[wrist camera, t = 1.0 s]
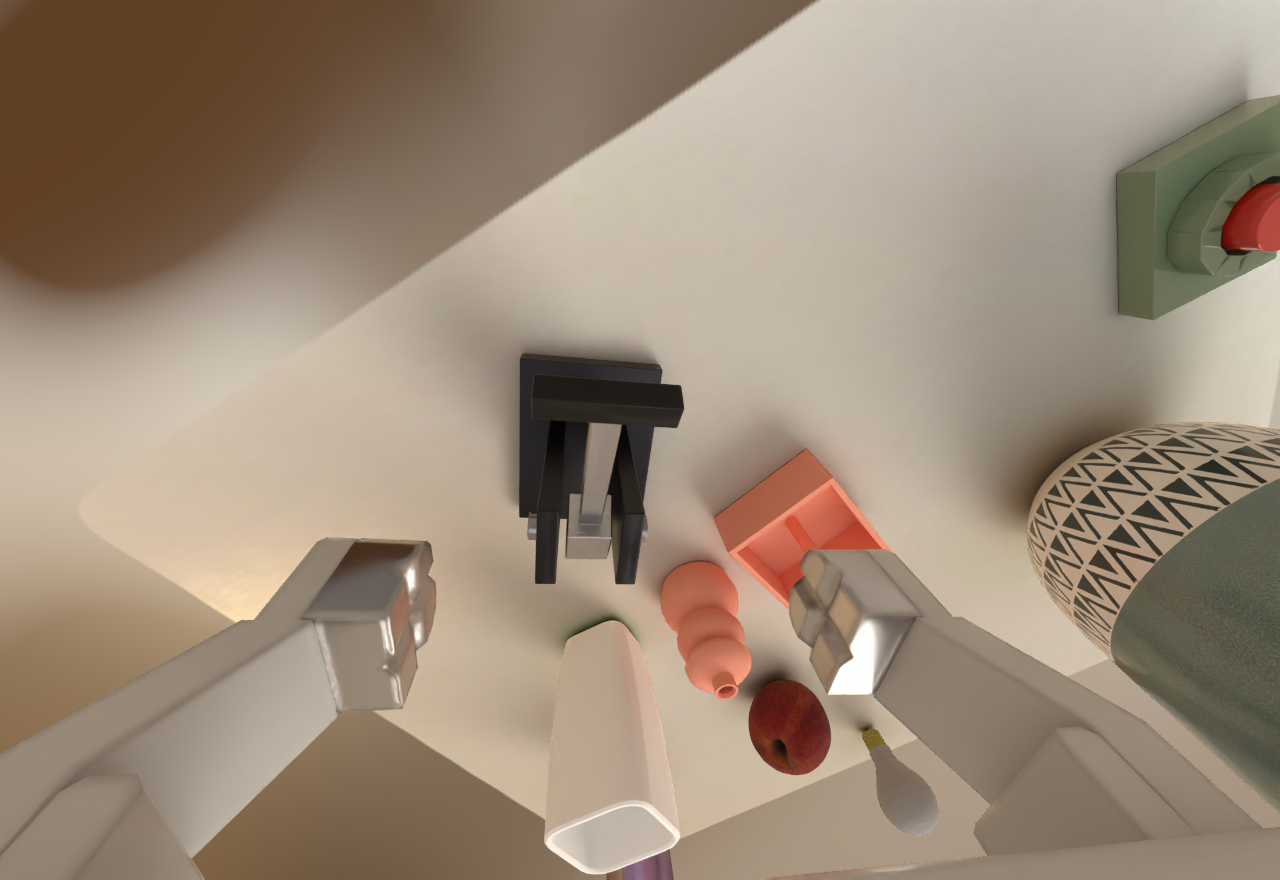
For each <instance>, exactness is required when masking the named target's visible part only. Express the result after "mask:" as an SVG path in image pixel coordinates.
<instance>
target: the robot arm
mask: <svg viewBox="0 0 1280 880" xmlns="http://www.w3.org/2000/svg"><path fill="white" fill-rule="evenodd" d="M432 563H433V556H432V548H431V544H430V543H428V542H427V541H412V540H389V539H365V538H361V539H354V538H324V539H322V540H320V541H318V542H317V543H316V544H315V545H314V546H313V548H312V549H311V550H310V551H309V552H308V554H307V555H306V556H305V557H304V559H303V560H302V561H301V562H300V564H299V565H298V566H297V567H296V569H295V570H294V571H293V572H292V573H291V575H290V576H289V577H288V578H287V580H286V581H285V582H284V583H283V585H282V586H281V587H280V588H279V590H278V591H277V592H276V593H275V595H274V596H273V597H272V598H271V599H270V601H269V602H268V603H267V604H266V606H265V607H264V608H263V609H262V611H261V612H260V613H259V614H258V616H257V617H256V618H255V619H254V620H241V621H239V622H237V623H236V624H234V625H232V626H230V627H228V628H226V629H225V630H223V631H221V632H219V633H218V634H216V635H214V636H212V637H210V638H208V639H207V640H205V641H203V642H201V643H199V644H198V645H196V646H194V647H192V648H190V649H189V650H187V651H185V652H183V653H181V654H179V655H178V656H176V657H174V658H172V659H170V660H169V661H167V662H165V663H163V664H161V665H159V666H158V667H156V668H154V669H152V670H150V671H149V672H147V673H145V674H143V675H141V676H140V677H138V678H136V679H134V680H132V681H130V682H129V683H127V684H125V685H123V686H121V687H120V688H118V689H116V690H114V691H112V692H111V693H109V694H107V695H105V696H103V697H102V698H100V699H98V700H96V701H94V702H92V703H91V704H89V705H87V706H86V707H83V708H82V709H80V710H78V711H76V712H74V713H73V714H71V715H69V716H67V717H65V718H64V719H62V720H60V721H58V722H56V723H55V724H53V725H51V726H49V727H47V728H45V729H44V730H42V731H40V732H38V733H36V734H35V735H33V736H31V737H29V738H27V739H25V740H24V741H22V742H20V743H18V744H16V745H15V746H13V747H11V748H9V749H7V750H6V751H4V752H2V753H0V880H205V879H204V877H203V876H202V874H201V872H200V871H199V869H198V868H197V866H196V865H195V863H194V862H193V860H192V859H191V858H193V857H194V855H196V854H197V853H198V852H199V851H200V850H201V849H202V848H203V847H204V846H205V845H206V844H207V843H208V842H209V841H210V840H211V839H212V838H213V837H214V836H215V835H216V834H217V833H218V832H219V831H220V830H221V829H222V828H223V827H224V826H225V825H226V824H228V822H230V821H231V820H232V819H233V818H234V817H235V816H236V815H237V814H238V813H239V812H240V811H241V810H242V809H243V808H244V807H245V806H246V805H247V804H248V803H249V802H250V801H251V800H252V799H253V798H254V797H255V796H256V795H257V794H258V793H259V792H260V791H262V790H263V789H264V787H266V786H267V785H268V784H269V783H270V782H271V781H272V780H273V779H274V778H275V777H276V776H277V775H278V774H279V773H280V772H281V771H282V770H283V769H284V768H285V767H286V766H287V765H288V764H289V763H290V762H291V761H292V760H293V759H294V758H295V757H297V755H299V754H300V753H301V752H302V751H303V750H304V749H305V748H306V747H307V746H308V745H309V744H310V743H311V742H312V741H313V740H314V739H315V738H316V737H317V736H318V735H319V734H320V733H321V732H322V731H323V730H324V729H325V728H326V727H327V726H328V725H330V724H331V723H332V722H333V721H334V720H335V719H336V718H337V717H338V714H337V713H339V712H340V713H341V712H357V711H373V710H390V709H403V706H404V703H405V701H406V698H407V695H408V692H409V690H410V687H411V684H412V682H413V679H414V676H415V673H416V671H417V668H418V665H417V657H416V650H418V649H419V648H420V647H421V646H422V645H424V644H425V643H426V642H427V640H428V637H429V634H430V631H431V628H432V625H433V619H434V614H435V609H436V583H435V581H434V580H433V579H432V578H431V577H430V576H429V575H428V573H429V570H430V568H431V565H432ZM800 568H801V570H802V572H803V574H804V576H803V577H802V578H801V579H799V580H798V581H797V582H796V583H795V584H793V587H792V590H791V593H790V597H789V615H790V618H791V622H792V626H793V628H794V630H795V632H796V634H797V636H798V638H800V639H801V640H802V641H803V642H805V643H806V644H807V645H808V646H810V647H811V648H812V650H811V654H810V659H809V660H810V661H811V663H812V665H813V667H814V669H815V671H816V673H817V675H818V677H819V679H820V681H821V683H822V685H823V687H824V689H825V691H826V692H827V694H828V695H863V694H875V696H874V698H876V699H877V700H878V701H879V702H880V703H881V704H882V705H883V706H884V707H885V708H886V709H887V710H889V711H890V712H891V713H892V714H893V715H894V716H895V717H896V718H897V719H898V720H899V721H900V722H902V723H903V724H904V725H905V726H906V727H907V728H908V729H909V730H910V731H911V732H912V733H913V734H915V735H916V736H917V737H918V738H919V739H920V740H921V741H922V742H923V743H924V744H925V745H926V746H928V747H929V748H930V749H931V750H932V751H933V752H934V753H935V754H936V755H937V756H938V757H939V758H941V759H942V760H943V761H944V762H945V763H946V764H947V765H948V766H949V767H950V768H952V770H954V771H955V772H956V773H957V774H958V775H959V776H960V777H961V778H962V779H963V780H964V781H965V782H967V783H968V784H969V785H970V786H971V787H972V788H973V789H974V790H975V791H976V792H977V793H979V794H980V795H981V796H982V797H983V798H984V799H985V800H986V801H987V802H988V803H989V804H990V805H991V806H990V807H989V808H988V809H987V811H986V812H985V813H984V814H983V815H982V816H981V818H980V819H979V820H978V821H977V822H976V824H975V830H974V835H975V837H976V838H977V840H978V841H979V843H980V844H981V846H982V848H983V850H984V851H985V853H986V854H987V856H983V857H973V858H963V859H953V860H943V861H933V862H923V863H913V864H903V865H892V866H882V867H873V868H862V869H852V870H843V871H832V872H822V873H812V874H802V875H793V876H782V877H772V878H762V879H752V880H1280V827H1275V828H1265V829H1263V828H1262V827H1261V826H1260V825H1259V824H1258V823H1257V822H1255V821H1254V820H1253V819H1252V818H1251V817H1250V816H1249V815H1248V814H1247V813H1245V812H1244V811H1243V810H1242V809H1241V808H1240V807H1239V806H1238V805H1237V804H1236V803H1234V802H1233V801H1232V800H1231V799H1230V798H1229V797H1228V796H1227V795H1226V794H1225V793H1223V792H1222V791H1221V790H1220V789H1219V788H1218V787H1217V786H1216V785H1215V784H1213V783H1212V782H1211V781H1210V780H1209V779H1208V778H1207V777H1206V776H1205V775H1204V774H1202V773H1201V772H1200V771H1199V770H1198V769H1197V768H1196V767H1195V766H1194V765H1193V764H1191V763H1190V762H1189V761H1188V760H1187V759H1186V758H1185V757H1184V756H1182V755H1181V754H1180V753H1179V752H1178V751H1177V750H1176V749H1175V748H1174V747H1173V746H1172V745H1170V744H1169V743H1168V742H1167V741H1166V740H1165V739H1164V738H1163V737H1162V736H1161V735H1159V734H1158V733H1157V732H1156V731H1155V730H1154V729H1153V728H1152V727H1150V726H1149V725H1148V724H1147V723H1146V722H1145V721H1143V720H1142V719H1140V718H1138V717H1136V716H1134V715H1133V714H1131V713H1129V712H1128V711H1126V710H1124V709H1122V708H1121V707H1119V706H1117V705H1115V704H1114V703H1112V702H1109V701H1108V700H1106V699H1105V698H1103V697H1101V696H1099V695H1098V694H1096V693H1094V692H1092V691H1091V690H1089V689H1087V688H1085V687H1083V686H1082V685H1080V684H1078V683H1077V682H1075V681H1073V680H1071V679H1070V678H1068V677H1066V676H1064V675H1063V674H1061V673H1059V672H1057V671H1055V670H1054V669H1052V668H1050V667H1048V666H1047V665H1045V664H1043V663H1041V662H1040V661H1038V660H1036V659H1034V658H1033V657H1031V656H1029V655H1027V654H1026V653H1024V652H1022V651H1020V650H1019V649H1017V648H1015V647H1013V646H1011V645H1010V644H1008V643H1006V642H1004V641H1003V640H1001V639H999V638H997V637H996V636H994V635H992V634H990V633H989V632H987V631H985V630H983V629H982V628H980V627H978V626H976V625H975V624H973V623H971V622H969V621H967V620H966V619H964V618H962V617H953V616H952V615H951V614H950V613H949V612H948V611H947V610H946V608H945V607H944V606H943V605H942V604H941V603H940V602H939V601H938V600H937V599H936V598H935V597H934V596H933V594H932V593H931V592H930V591H929V590H928V589H927V588H926V587H925V586H924V585H923V584H922V583H921V581H920V580H919V579H918V578H917V577H916V576H915V575H914V574H913V573H912V572H911V571H910V570H909V568H908V567H907V566H906V565H905V564H904V563H903V562H902V561H901V560H900V559H899V558H898V557H897V556H896V554H894V553H892V552H890V551H888V550H886V549H861V550H817V549H809V550H808V552H807V553H806V554H805V555H804V556H803V559H802V561H801V564H800Z"/></svg>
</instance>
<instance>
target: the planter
mask: <svg viewBox="0 0 1280 880" xmlns="http://www.w3.org/2000/svg"><path fill="white" fill-rule="evenodd" d="M1027 544H1028V550H1029V555H1030V559H1031V562H1032V565H1033V568H1034V570H1035V572H1036V574H1037V576H1038V578H1039V580H1040V582H1041V583H1042V585H1043V587H1044V588H1045V589H1046V591H1047V592H1048V594H1049V595H1050V597H1051V598H1052V599H1053V601H1054V602H1055V603H1056V605H1057V606H1058V607H1059V608H1060V610H1061V611H1062V612H1063V613H1064V614H1065V616H1066V617H1067V618H1068V619H1069V620H1070V621H1071V622H1072V623H1073V624H1074V625H1075V626H1076V627H1077V628H1078V629H1079V630H1080V631H1081V632H1082V633H1083V634H1084V635H1085V636H1086V637H1087V638H1088V639H1089V640H1090V641H1091V642H1092V643H1093V644H1094V645H1095V646H1097V647H1098V648H1099V649H1100V650H1101V651H1102V652H1103V653H1104V654H1105V655H1106V656H1107V657H1108V658H1109V659H1111V660H1112V661H1113V662H1114V663H1115V664H1116V665H1117V666H1118V667H1119V668H1120V669H1121V670H1122V671H1123V672H1125V674H1127V675H1128V676H1129V677H1130V678H1131V679H1132V680H1133V681H1134V682H1135V683H1136V684H1137V685H1138V686H1139V687H1140V688H1141V689H1142V690H1144V691H1145V692H1146V693H1147V694H1148V695H1149V696H1150V697H1151V698H1152V699H1154V700H1155V701H1156V702H1157V703H1158V704H1159V705H1160V706H1161V707H1162V708H1164V709H1165V710H1166V711H1167V712H1168V713H1169V714H1170V715H1171V716H1172V717H1173V718H1175V719H1176V720H1177V721H1178V722H1179V723H1180V724H1181V725H1182V726H1183V727H1184V728H1185V729H1187V730H1188V731H1189V732H1190V733H1191V734H1192V735H1193V736H1194V737H1195V738H1196V739H1197V740H1199V742H1201V743H1202V744H1203V745H1204V746H1205V747H1206V748H1207V749H1208V750H1209V751H1210V752H1211V753H1212V754H1214V755H1215V756H1216V757H1217V758H1218V759H1219V760H1220V761H1221V762H1222V763H1223V764H1224V765H1225V766H1226V767H1227V768H1228V769H1230V771H1231V772H1233V773H1234V774H1235V775H1236V776H1237V777H1238V778H1239V779H1240V780H1241V781H1242V782H1243V783H1244V784H1245V785H1247V786H1248V787H1249V788H1250V789H1251V790H1252V791H1253V792H1254V793H1255V794H1257V795H1258V796H1259V797H1260V798H1261V799H1262V800H1263V801H1264V802H1265V803H1267V804H1268V805H1269V806H1270V807H1271V808H1272V809H1273V810H1274V811H1275V812H1277V813H1278V814H1279V815H1280V430H1277V429H1270V428H1263V427H1257V426H1249V425H1241V424H1230V423H1219V422H1180V423H1168V424H1161V425H1154V426H1148V427H1144V428H1139V429H1135V430H1131V431H1127V432H1124V433H1121V434H1118V435H1115V436H1112V437H1109V438H1106V439H1103V440H1101V441H1099V442H1097V443H1094V444H1092V445H1090V446H1088V447H1086V448H1084V449H1082V450H1081V451H1079V452H1077V453H1076V454H1074V455H1073V456H1071V457H1070V458H1068V459H1067V460H1066V461H1064V462H1063V463H1062V464H1061V465H1059V466H1058V467H1057V468H1056V469H1055V470H1054V471H1053V472H1052V473H1051V474H1050V475H1049V477H1048V478H1047V479H1046V480H1045V482H1044V483H1043V484H1042V486H1041V487H1040V489H1039V491H1038V492H1037V494H1036V496H1035V498H1034V500H1033V503H1032V506H1031V509H1030V513H1029V517H1028V525H1027Z"/></svg>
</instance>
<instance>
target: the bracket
mask: <svg viewBox="0 0 1280 880" xmlns="http://www.w3.org/2000/svg"><path fill="white" fill-rule="evenodd" d="M535 374H540V375H553V376H566V377H579V378H592V379H605V380H618V381H631V382H644V383H657V384H660V383H661V377H662V369H661V367H660V365H655V364H643V363H631V362H619V361H607V360H595V359H583V358H571V357H559V356H548V355H536V354H524V353H523V354H522V356H521V358H520V481H519V517H521V518H529V519H528V539H529V540H536V563H535V584H555V583H556V569H557V555H558V541H559V526H560V519H567V511H568V497H569V494H570V493H571V494H581V487H582V478H583V469H584V460H585V451H586V442H587V433H588V424H589V423H587V422H571V421H554V420H538V419H533V418H532V405H531V395H532V387H533V379H534V375H535ZM653 431H654V427H652V426H636V425H622V427H621V431H620V436H619V441H618V446H617V450H616V455H615V460H614V465H613V470H612V474H611V479H610V484H609V489H608V493H607V495H611V496H612V551H613V562H614V572H615V583H616V584H635V579H636V572H637V565H638V559H639V552H640V545H641V542H645V541H646V538H647V530H648V524H647V517H646V515H645V511H644V507H643V500H644V493H645V486H646V479H647V472H648V465H649V459H650V452H651V445H652V438H653Z"/></svg>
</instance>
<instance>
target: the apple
mask: <svg viewBox="0 0 1280 880" xmlns="http://www.w3.org/2000/svg"><path fill="white" fill-rule="evenodd" d="M749 733H750V737H751V740H752V743H753V745H754V747H755V749H756V751H757V752H758V753H759V755H760V756H761V757H762V759H763V760H764V761H765V762H766V763H767V764H769V765H770V766H771V767H773V768H774V769H776V770H778V771H780V772H782V773H786V774H791V775H802V774H807V773H809V772H811V771H813V770H814V769H816V768H817V767H818V766H819V765H820V764H821V763H822V762H823V760H824V759H825V757H826V755H827V753H828V750H829V747H830V743H831V730H830V725H829V721H828V718H827V715H826V713H825V710H824V708H823V706H822V705H821V703H820V701H819V700H818V698H817V697H816V696H815V694H814V693H813V692H812V691H811V690H809V689H808V688H807V687H805V686H804V685H802V684H801V683H798V682H795V681H791V680H777V681H773V682H771V683H769V684H767V685H765V686H764V687H763V688H762V689H761V690H760V691H759V692H758V693H757V694H756V696H755V698H754V700H753V702H752V705H751V709H750V713H749Z"/></svg>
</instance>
